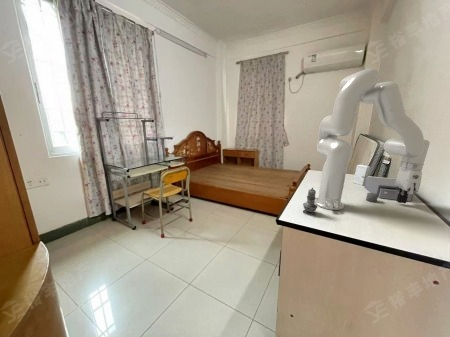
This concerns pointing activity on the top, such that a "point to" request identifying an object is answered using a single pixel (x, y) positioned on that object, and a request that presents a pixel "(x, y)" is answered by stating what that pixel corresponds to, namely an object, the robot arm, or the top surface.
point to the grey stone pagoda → (310, 203)
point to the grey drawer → (390, 194)
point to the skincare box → (361, 174)
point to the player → (380, 184)
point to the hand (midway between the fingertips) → (401, 202)
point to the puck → (371, 197)
